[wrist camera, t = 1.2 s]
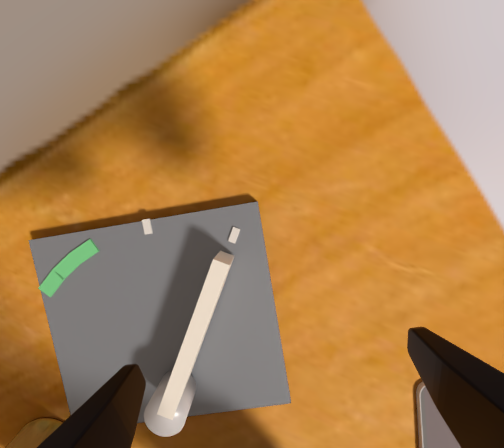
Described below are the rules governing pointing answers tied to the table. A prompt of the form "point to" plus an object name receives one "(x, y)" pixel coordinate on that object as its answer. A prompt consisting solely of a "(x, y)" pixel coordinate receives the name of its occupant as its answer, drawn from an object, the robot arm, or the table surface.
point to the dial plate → (164, 307)
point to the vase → (34, 433)
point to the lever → (186, 358)
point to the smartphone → (432, 423)
